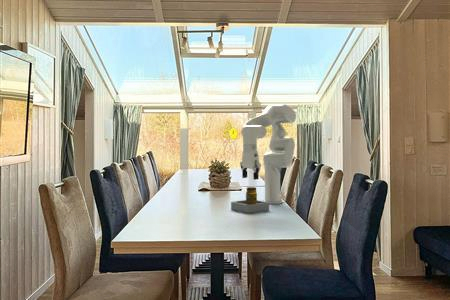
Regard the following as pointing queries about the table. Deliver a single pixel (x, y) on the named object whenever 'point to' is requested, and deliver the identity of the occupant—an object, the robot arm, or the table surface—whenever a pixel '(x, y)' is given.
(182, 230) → the table surface
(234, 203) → the box
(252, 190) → the condiment
